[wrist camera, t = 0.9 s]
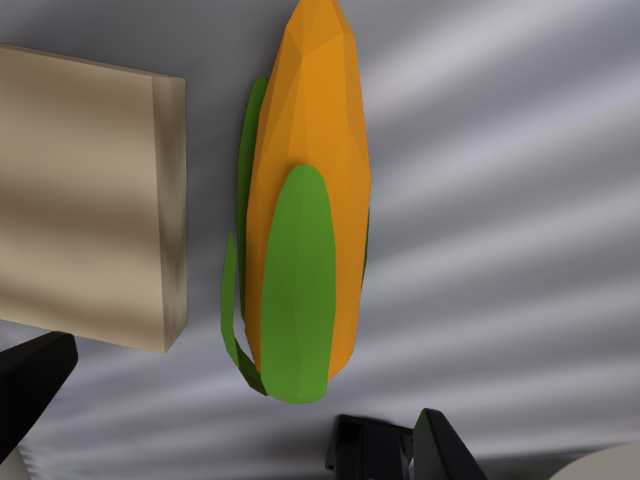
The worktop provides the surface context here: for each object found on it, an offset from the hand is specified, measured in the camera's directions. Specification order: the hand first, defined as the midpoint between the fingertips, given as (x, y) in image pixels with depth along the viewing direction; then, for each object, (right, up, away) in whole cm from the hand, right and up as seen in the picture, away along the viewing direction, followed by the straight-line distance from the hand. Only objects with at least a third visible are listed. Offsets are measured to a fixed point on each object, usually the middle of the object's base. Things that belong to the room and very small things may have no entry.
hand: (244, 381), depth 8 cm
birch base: (-12, +6, +12) cm, 18 cm away
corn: (+1, +5, +11) cm, 12 cm away
